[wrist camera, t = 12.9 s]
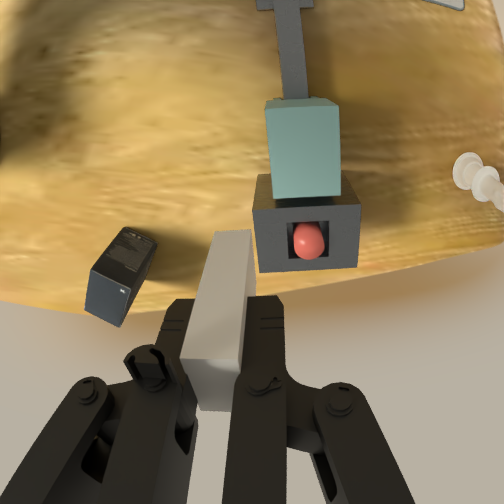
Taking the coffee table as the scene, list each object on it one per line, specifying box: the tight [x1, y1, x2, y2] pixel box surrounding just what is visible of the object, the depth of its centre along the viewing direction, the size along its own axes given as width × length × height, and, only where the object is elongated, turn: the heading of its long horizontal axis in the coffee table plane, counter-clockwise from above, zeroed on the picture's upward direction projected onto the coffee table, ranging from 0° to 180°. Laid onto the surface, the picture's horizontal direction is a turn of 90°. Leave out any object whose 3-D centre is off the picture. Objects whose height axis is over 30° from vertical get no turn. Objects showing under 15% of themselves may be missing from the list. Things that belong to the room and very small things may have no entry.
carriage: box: [265, 96, 341, 199], centre depth 30 cm, size 6×8×9 cm
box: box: [84, 227, 158, 327], centre depth 41 cm, size 8×6×11 cm
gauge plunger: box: [293, 221, 324, 260], centre depth 31 cm, size 3×3×4 cm
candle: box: [453, 152, 504, 212], centre depth 30 cm, size 5×5×12 cm
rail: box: [256, 0, 314, 100], centre depth 29 cm, size 6×24×5 cm, turn 6°
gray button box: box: [252, 170, 361, 273], centre depth 35 cm, size 10×7×10 cm
